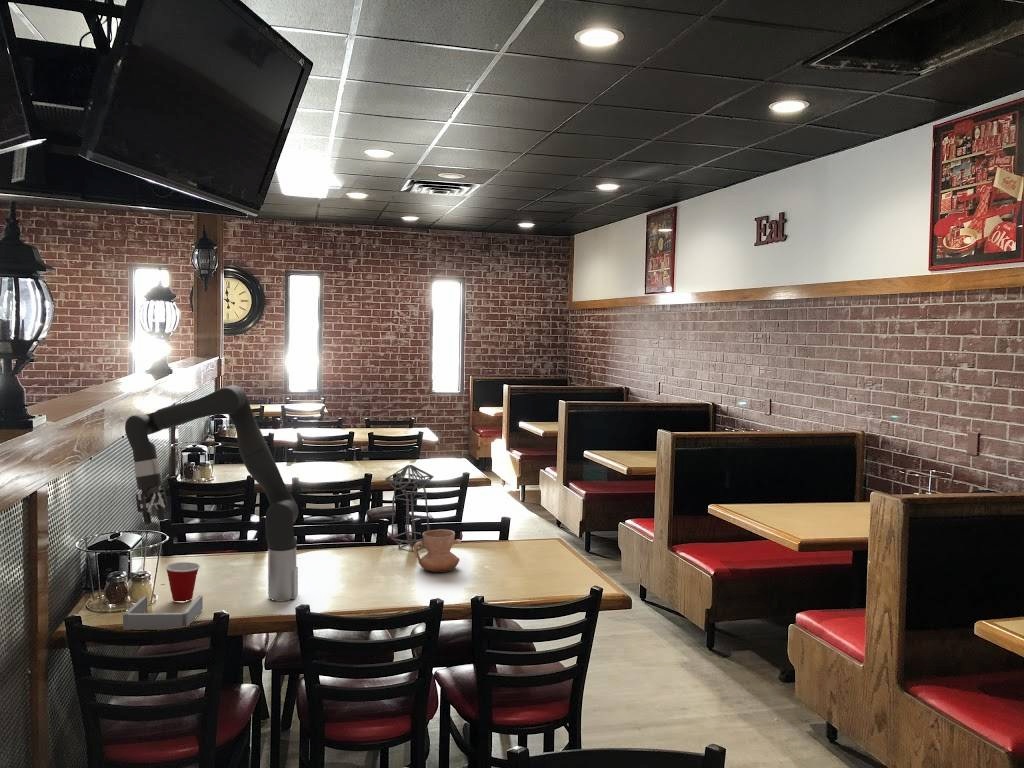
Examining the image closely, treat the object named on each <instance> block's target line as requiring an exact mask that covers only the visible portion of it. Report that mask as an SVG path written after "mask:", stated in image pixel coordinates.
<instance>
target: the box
mask: <svg viewBox="0 0 1024 768" xmlns="http://www.w3.org/2000/svg"><path fill="white" fill-rule="evenodd" d="M203 600H204V599H203V595H198V596H196V598H195V599H194V600H193V602H192V603H190V605H188V607H187V608H186V609H185V610H184V612H156V613H155V612H150V613H149V612H148V596H147V595H146V596H145V595H143V596H142V597H141V598H139V600H138V601H136V603H134V604H133V605H132V606H131V607H130V608H129V609H128V610H127V611H125V613H123V614H122V630H123V629H134V630H142V629H166V628H173V627H182V626H188V625H190V623H192V622H193V621H194V619H195V617H196V616H197V615H198V614H199V613H200V612H201V610H202V609H203V607H204V605H203V603H204V602H203ZM146 611H147V612H146ZM144 612H146V613H144ZM201 613H202V612H201ZM194 622H195V621H194ZM194 622H193V623H194ZM193 623H192V624H193Z"/></svg>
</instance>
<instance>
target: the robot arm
mask: <svg viewBox="0 0 1024 768" xmlns="http://www.w3.org/2000/svg"><path fill="white" fill-rule="evenodd" d="M219 415H228V416H229V418H230V419H231V422H232V423H233V426H234V428H235V431H236V432H235V433H236V439H237V444H238V445H237V447H238V451H239V455H240V457H241V460H242V462H243V464H244V465H245V468H246V471H247V472H248V473H249V474H250V476H251V477H252V479H253V480H255V482H256V483H257V484H258V485H259V486H260V487H261V488H262V490H263V492H264V493H265V495H266V497H267V498H266V499H267V500H268V503H269V505H270V506H269V507H268V508H267V510H266V512H265V523H264V524H265V538H266V543H267V570H268V571H267V572H268V574H267V581H268V585H267V587H268V588H267V591H268V592H267V595H268V597H269V598H270V599H273V600H288V601H291V600H290V599H295V600H296V598H297V596H298V594H299V575H298V574H299V571H298V570H299V567H298V566H297V538H296V537H295V536H294V523H295V521H296V520H297V518H298V516H299V507H298V504H297V502H296V501H295V499H294V497H293V495H291V493H290V490H289V488H288V487H287V486H286V484H285V482H284V480H283V478H282V475H281V472H280V470H279V468H278V466H277V464H276V460H274V456H273V454H272V452H271V450H270V447H269V445H268V444H267V441H266V440H265V438H264V435H263V433H262V431H261V430H260V427H259V425H258V423H257V420H256V419H255V415H254V413H253V411H252V407H251V404H250V401H249V399H248V396H247V394H246V392H245V390H244V389H243V388H241V387H240V386H239V385H235V384H231V385H226V386H222V387H220V388H218V389H217V390H215V391H213V392H210V393H209V394H207V395H205V396H202V397H200V398H196V399H193V400H190V401H185V402H179V403H177V404H173V405H168V406H165V407H161V408H158V409H157V410H156V411H154V412H150V413H145V414H135V415H131V416H129V417H128V418H127V419H126V421H125V424H124V431H125V436H126V438H127V440H128V443H129V446H130V447H131V449H132V456H133V462H134V474H135V481H136V488H137V490H138V491H141V493H136V495H135V499H136V500H135V501H136V506H137V507H136V508H137V510H136V511H137V513H141V514H142V517H143V518H142V519H143V524H144V525H151V524H152V523H153V520H152V515H151V508H152V507H153V506H154V507H155V508H156V515H157V520H158V521H164V520H166V514H165V513H166V511H165V508H166V507H167V506H168V505H169V503H168V499H167V494H166V488H164V487H163V488H159V487H162V485H163V483H162V475H161V470H160V464H159V461H158V456H157V449H156V446H155V443H153V442H151V441H150V439H149V435H152V434H155V433H158V432H161V431H163V430H167V429H170V428H174V427H178V426H181V425H184V424H187V423H190V422H193V421H195V420H197V419H201V418H206V417H210V416H219ZM268 597H267V598H268ZM269 598H268V599H269ZM270 599H269V600H270Z"/></svg>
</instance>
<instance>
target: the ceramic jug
mask: <svg viewBox="0 0 1024 768" xmlns="http://www.w3.org/2000/svg"><path fill="white" fill-rule="evenodd" d="M422 533H423V535H422V537H423V539H424V540H421V541H418V542H416V544H415V543H414V544H415V545H413V546H414V547H413V550H414V551H413V554H414V555H415V557H416V559H417V561H418V564H419V565H420V567H421V568H423V570H425V571H428V572H432V573H445V572H449V571H452V570H454V569H455V568H456V567H457V566H458V564H459V562H460V558H459V557H457V555H455V554H454V553H452V551H451V550H452V547H453V546H454V545H455V544H461V543H462V540H461V539H459V538H458V539H455V537H456V533H455V531H454V530H450V529H434V530H433V529H432V530H431V529H430V531H428V530H426V531H423V532H422ZM422 541H424V542H422ZM419 545H422V546H421V547H423V546H424V548H425V549H426V550H427V553H426V554H424V555H423V556H422V557H420V554H419V552H418V550H417V549H419V548H418V547H420V546H419Z"/></svg>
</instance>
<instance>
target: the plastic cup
mask: <svg viewBox="0 0 1024 768" xmlns="http://www.w3.org/2000/svg"><path fill="white" fill-rule="evenodd" d="M164 568H165V570H166V573H167V577H168V582H169V588H170V592H171V596H172V601H173V600H174V601H186V600H190V599H192V600H193V596H194V591H195V586H196V580H197V575H198V571H199V569H200V568H201V565H200V564H199V563H197V562H189V561H188V562H187V561H182V562H173V563H169V564H166V565H165V567H164ZM174 601H173V602H174Z"/></svg>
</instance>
